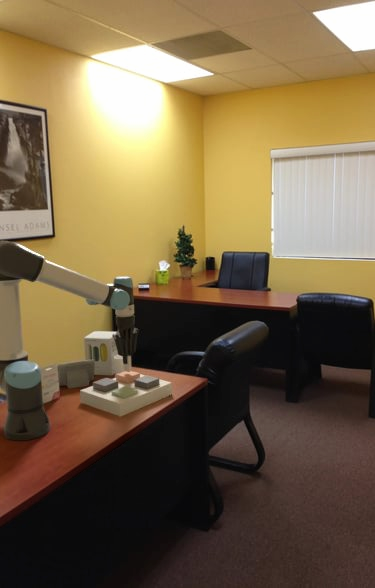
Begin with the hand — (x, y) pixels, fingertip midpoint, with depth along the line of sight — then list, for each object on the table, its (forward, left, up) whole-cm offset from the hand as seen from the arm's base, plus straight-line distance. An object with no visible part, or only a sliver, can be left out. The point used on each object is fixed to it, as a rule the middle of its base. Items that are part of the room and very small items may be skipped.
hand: (127, 370), depth 213 cm
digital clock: (-8, +25, -9) cm, 27 cm away
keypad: (-6, -5, -9) cm, 12 cm away
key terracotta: (0, 0, -6) cm, 6 cm away
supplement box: (+12, +30, -9) cm, 33 cm away
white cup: (+10, +15, -9) cm, 20 cm away
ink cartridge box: (-26, +20, -9) cm, 34 cm away
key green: (-12, -11, -7) cm, 18 cm away
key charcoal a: (-12, 0, -6) cm, 14 cm away
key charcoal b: (0, -11, -6) cm, 13 cm away
